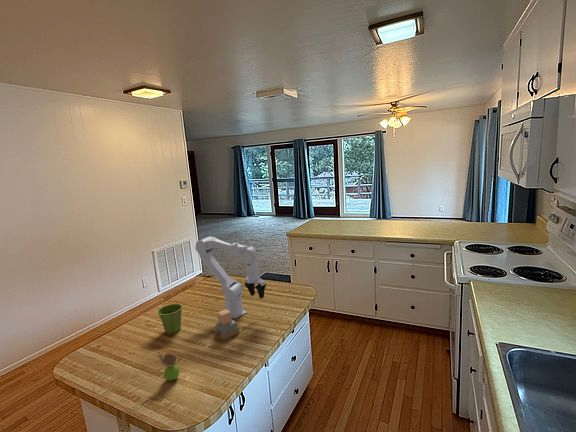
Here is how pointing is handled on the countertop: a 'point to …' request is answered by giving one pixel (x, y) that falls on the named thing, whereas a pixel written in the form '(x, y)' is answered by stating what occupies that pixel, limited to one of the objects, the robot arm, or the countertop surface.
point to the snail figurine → (169, 366)
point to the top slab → (226, 327)
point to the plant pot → (171, 317)
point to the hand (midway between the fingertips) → (257, 296)
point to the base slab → (227, 335)
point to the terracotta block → (224, 317)
